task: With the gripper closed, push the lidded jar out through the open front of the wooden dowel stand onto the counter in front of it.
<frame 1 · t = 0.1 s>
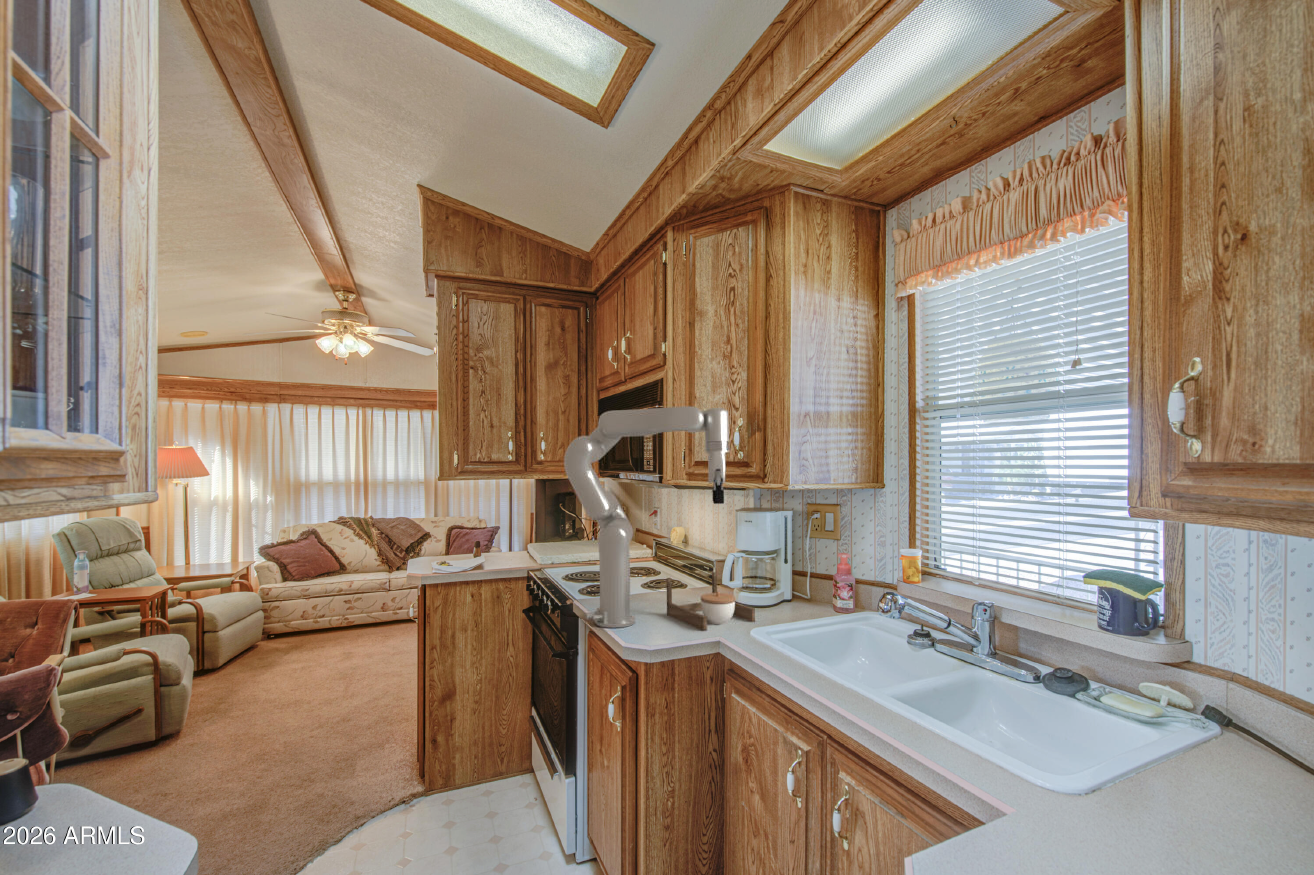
hand: (718, 502, 174), 37 cm above the worktop, tool pointing down, fingers open, 9 cm apart
wooden dowel stand: (709, 618, 178), on the worktop
lidded jar: (718, 622, 174), on the worktop
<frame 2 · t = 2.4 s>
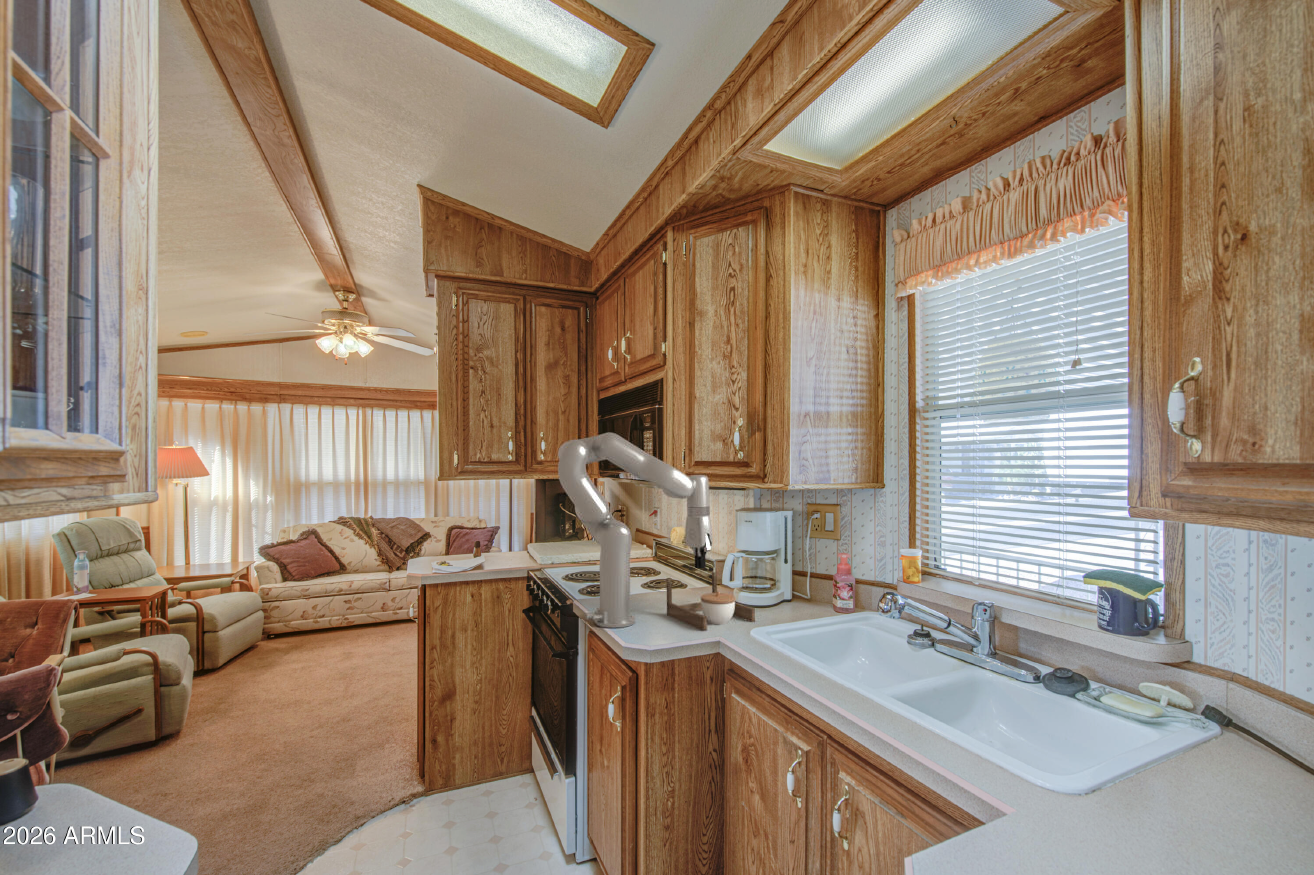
hand: (700, 567, 184), 15 cm above the worktop, tool pointing down, fingers closed
nothing on the worktop moved.
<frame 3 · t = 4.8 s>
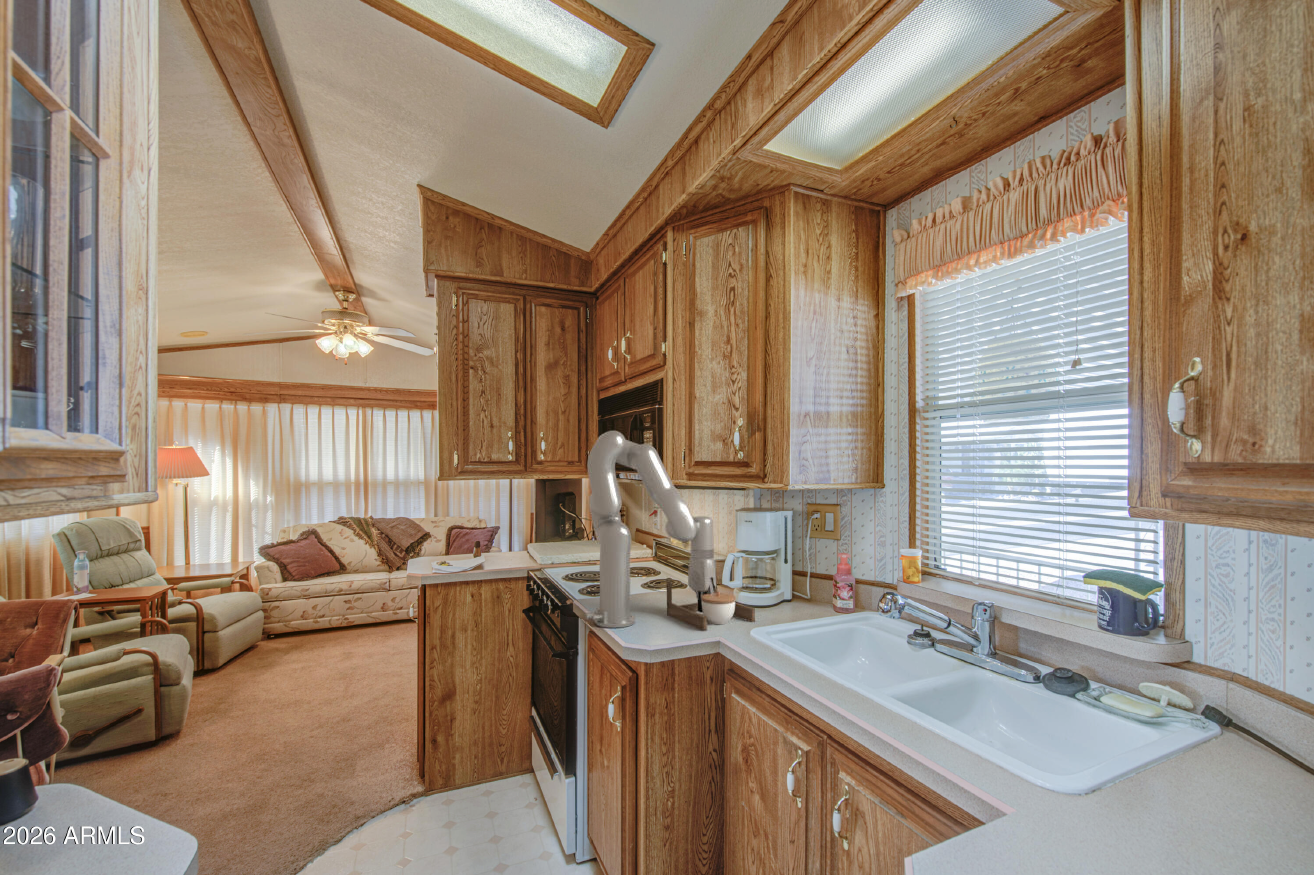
hand: (703, 611, 181), 1 cm above the worktop, tool pointing down, fingers closed
lidded jar: (718, 622, 174), on the worktop, touching gripper
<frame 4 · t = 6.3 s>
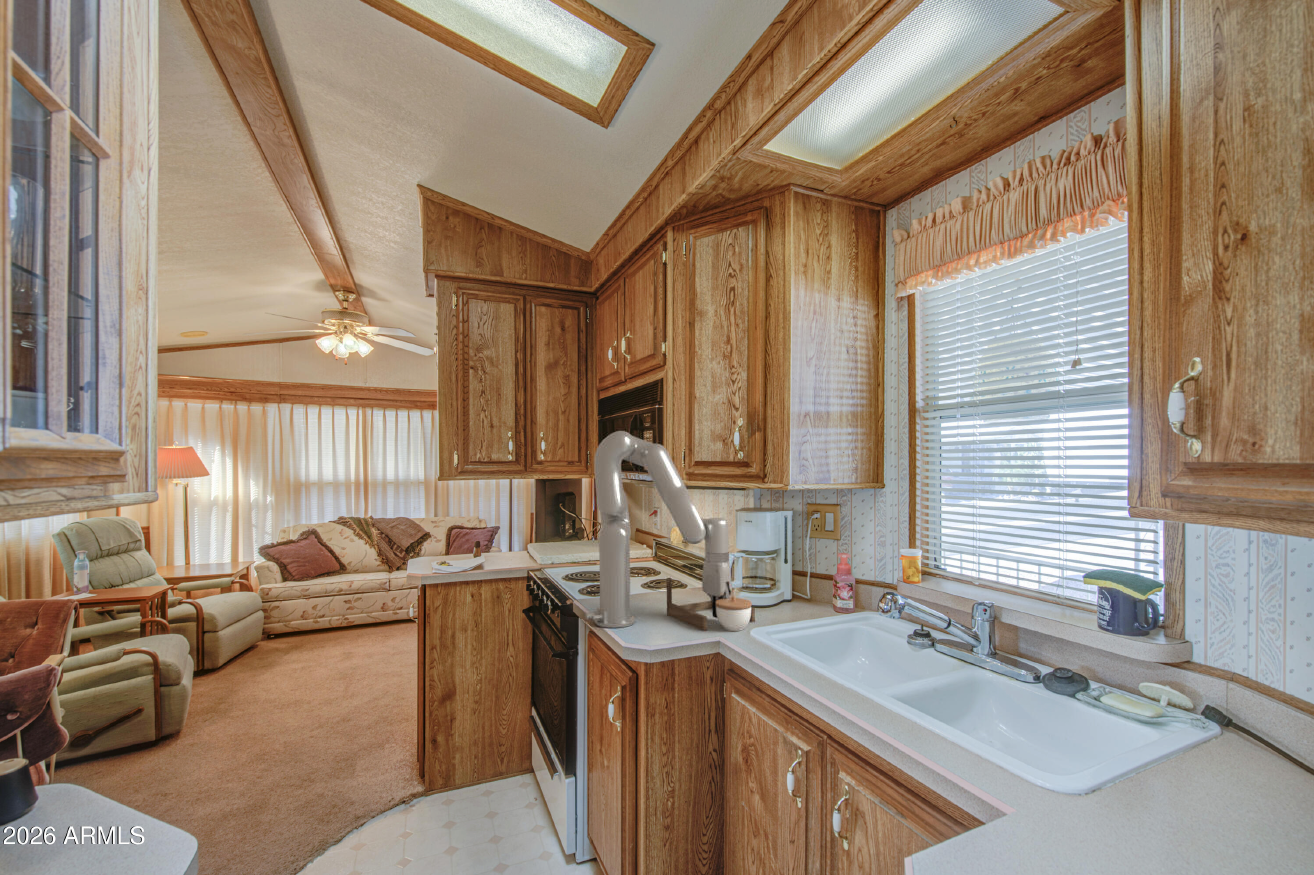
hand: (718, 616, 174), 1 cm above the worktop, tool pointing down, fingers closed
lidded jar: (733, 628, 166), on the worktop, touching gripper
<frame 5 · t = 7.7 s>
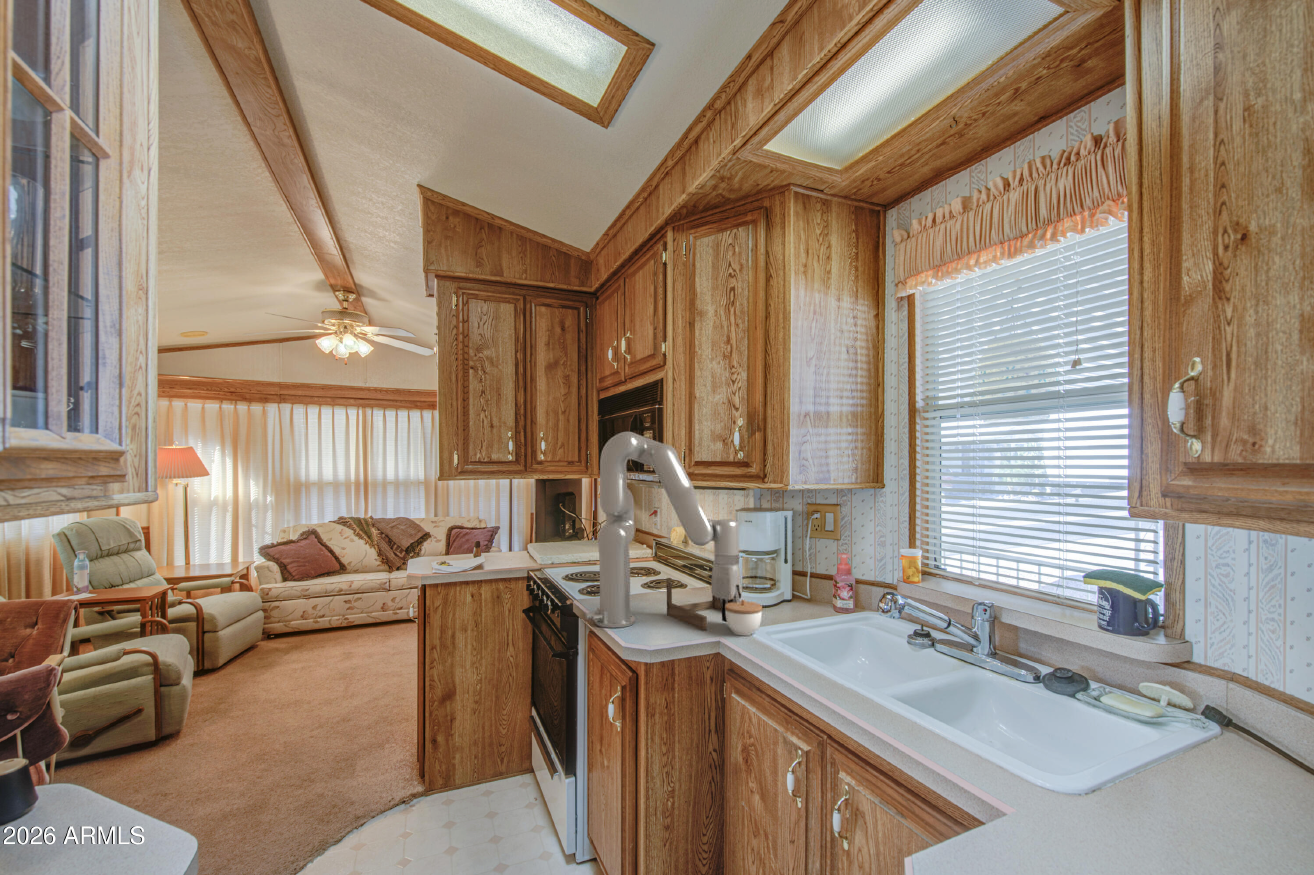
hand: (727, 620, 170), 1 cm above the worktop, tool pointing down, fingers closed
lidded jar: (743, 633, 162), on the worktop, touching gripper
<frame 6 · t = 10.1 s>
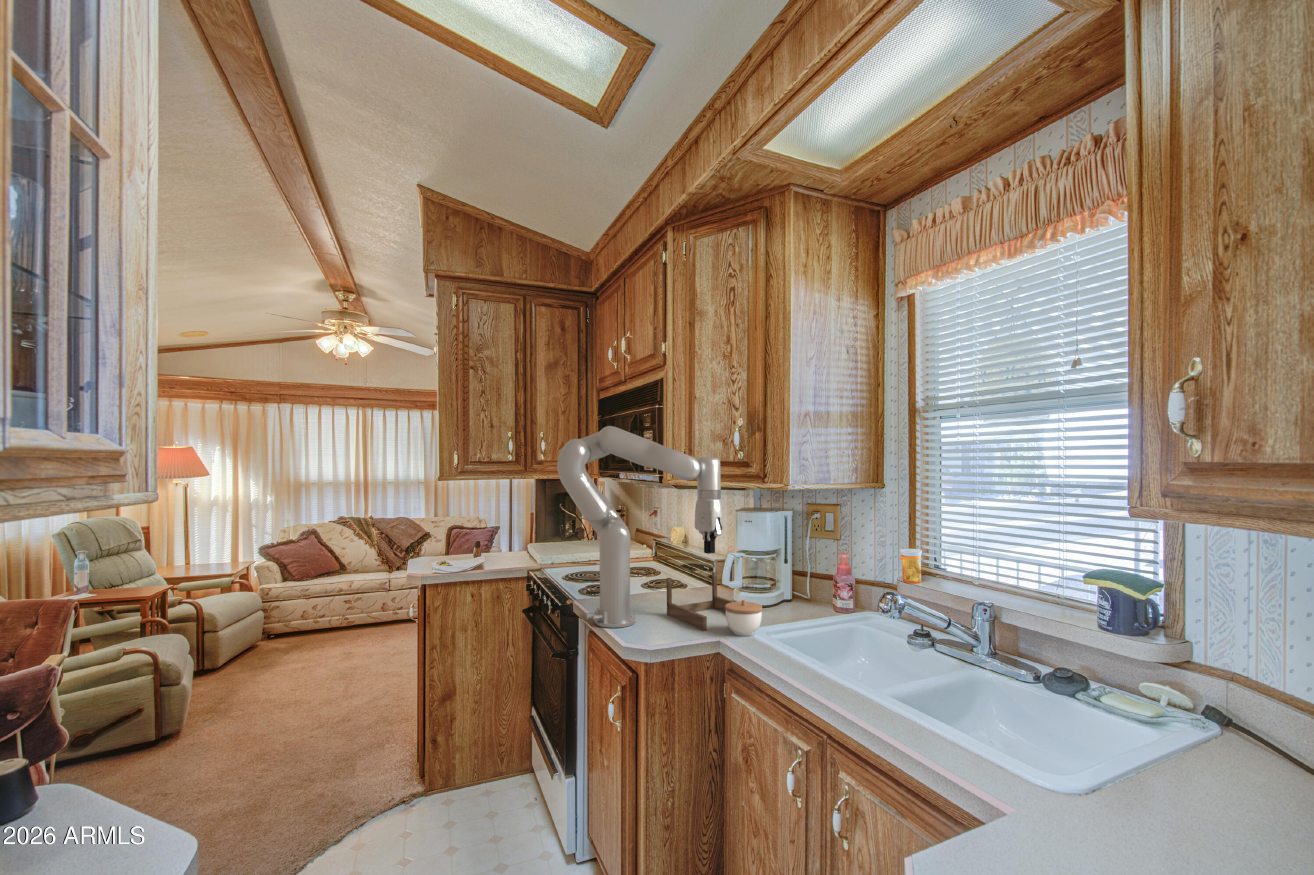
hand: (709, 552, 178), 21 cm above the worktop, tool pointing down, fingers closed
lidded jar: (744, 633, 162), on the worktop
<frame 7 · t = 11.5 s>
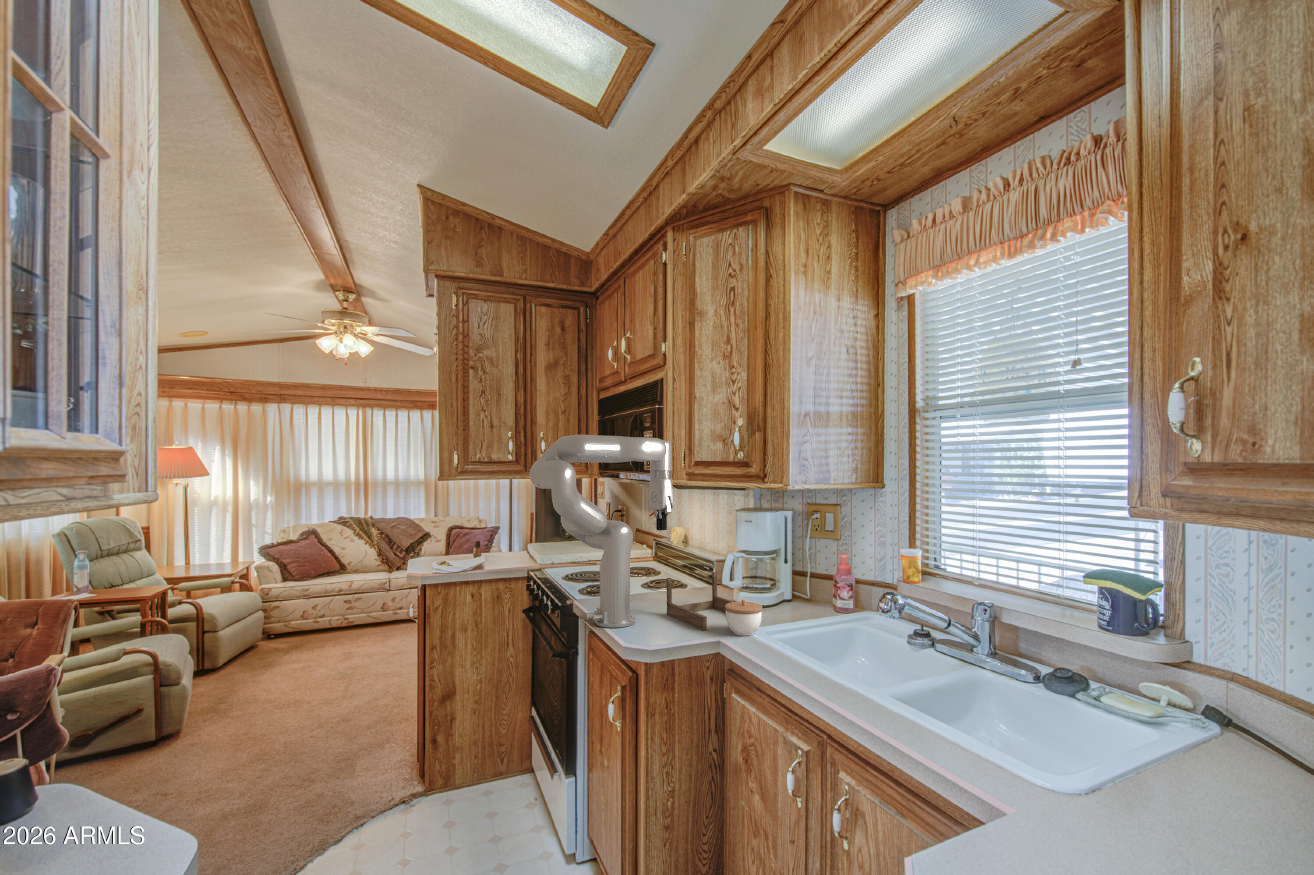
hand: (661, 529, 190), 27 cm above the worktop, tool pointing down, fingers closed
nothing on the worktop moved.
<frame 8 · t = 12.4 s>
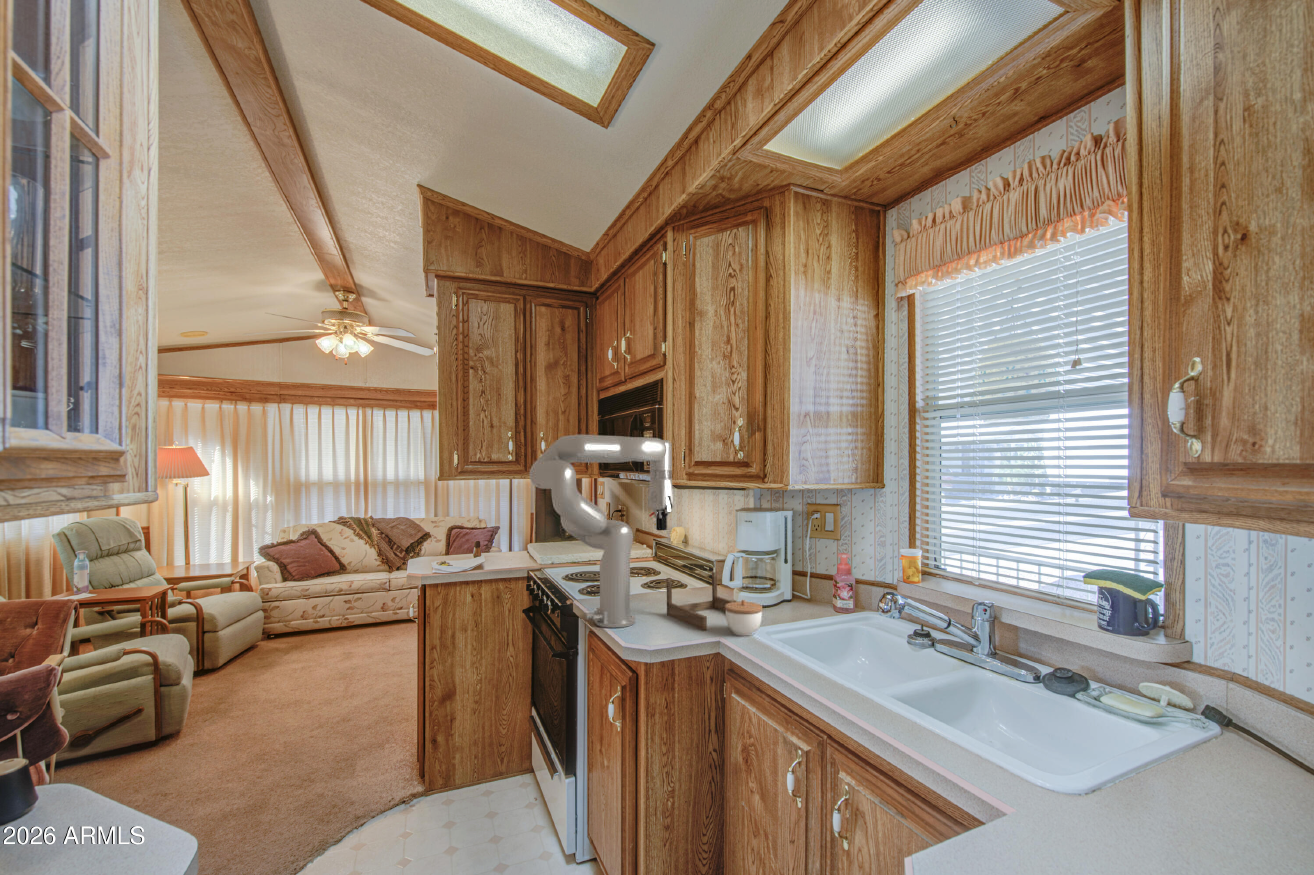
hand: (661, 529, 190), 27 cm above the worktop, tool pointing down, fingers closed
nothing on the worktop moved.
at the end: lidded jar inside the target area (2.3 cm from its centre), on the worktop; lidded jar tilted 0° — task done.
